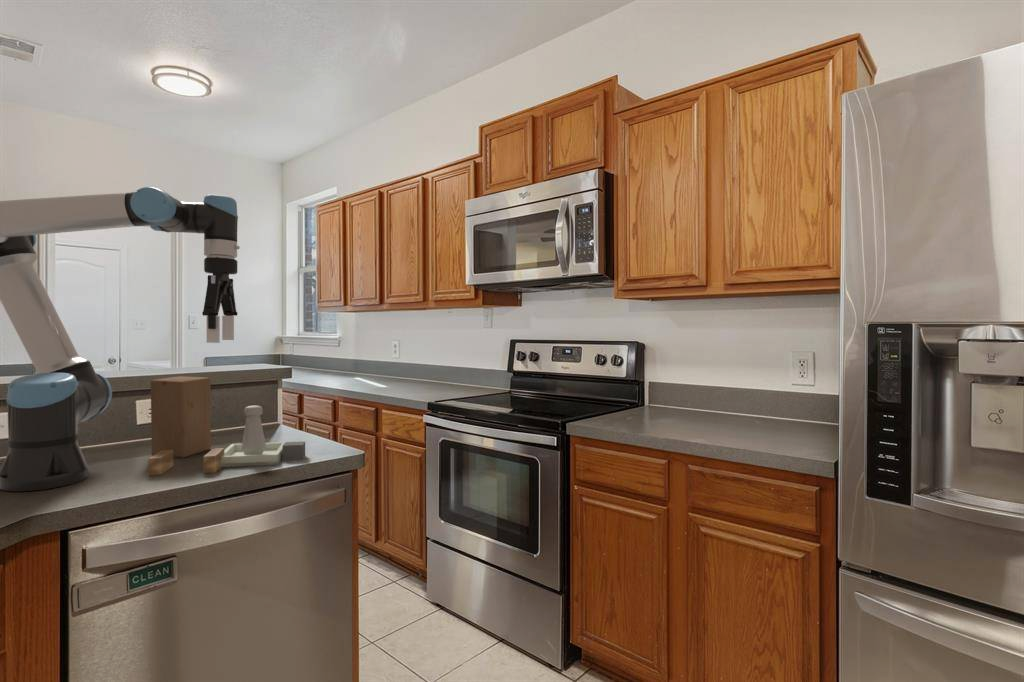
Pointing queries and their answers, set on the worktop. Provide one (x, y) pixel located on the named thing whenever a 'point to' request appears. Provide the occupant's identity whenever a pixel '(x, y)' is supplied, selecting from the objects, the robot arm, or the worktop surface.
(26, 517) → the worktop surface
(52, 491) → the worktop surface
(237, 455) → the tray
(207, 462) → the wooden blocks
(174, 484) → the worktop surface
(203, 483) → the worktop surface
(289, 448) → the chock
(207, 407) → the wooden block
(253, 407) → the salt shaker
